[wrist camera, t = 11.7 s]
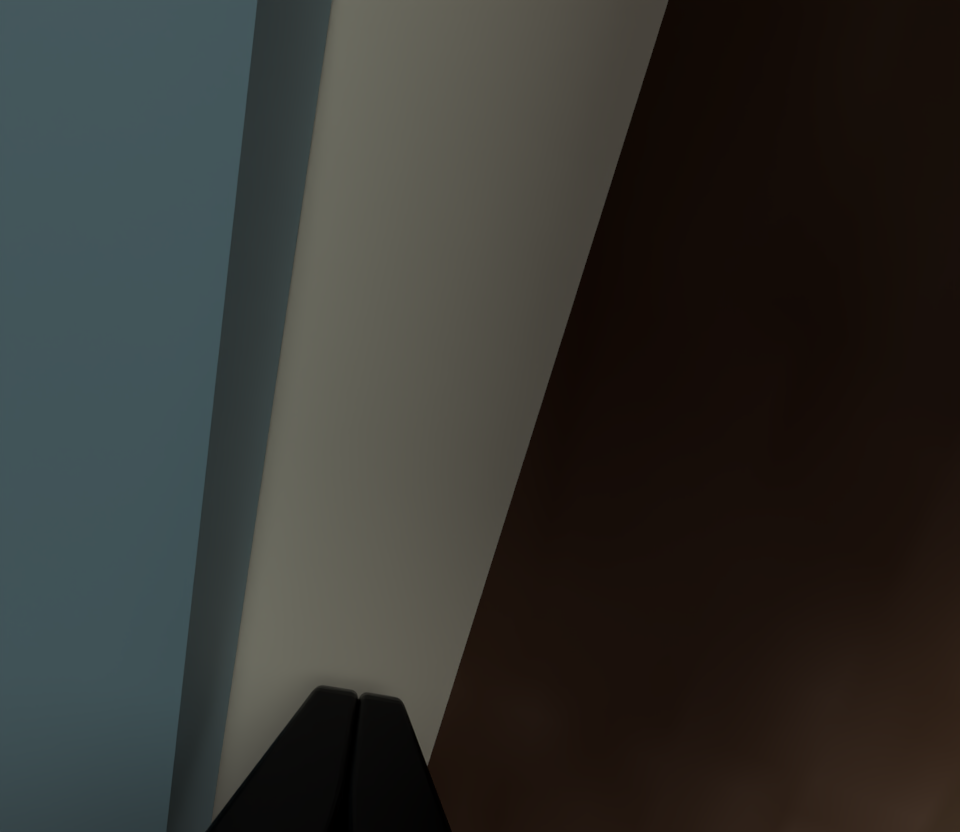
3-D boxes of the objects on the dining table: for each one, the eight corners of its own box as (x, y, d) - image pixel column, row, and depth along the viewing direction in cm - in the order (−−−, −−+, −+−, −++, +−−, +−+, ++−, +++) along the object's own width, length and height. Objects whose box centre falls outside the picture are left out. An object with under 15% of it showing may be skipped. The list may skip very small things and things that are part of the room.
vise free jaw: (352, -142, 6) (282, -215, 4) (189, 969, 12) (126, 1189, 10) (-17, -249, 6) (-336, -398, 3) (12, 946, 12) (-93, 1168, 10)
